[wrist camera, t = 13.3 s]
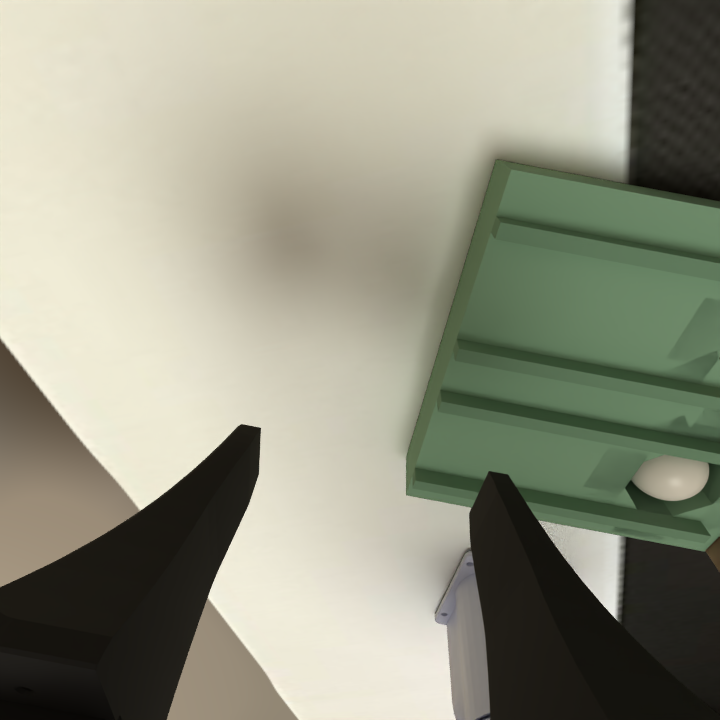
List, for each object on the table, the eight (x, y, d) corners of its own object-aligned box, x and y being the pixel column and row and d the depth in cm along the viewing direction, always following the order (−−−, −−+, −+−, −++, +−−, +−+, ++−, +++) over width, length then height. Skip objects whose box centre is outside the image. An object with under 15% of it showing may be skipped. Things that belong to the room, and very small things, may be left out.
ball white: (657, 466, 25) (708, 514, 22) (601, 468, 24) (645, 518, 21) (682, 416, 23) (742, 460, 20) (622, 417, 23) (674, 463, 20)
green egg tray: (680, 508, 26) (719, 567, 23) (406, 457, 26) (405, 508, 23) (914, 238, 17) (1035, 270, 14) (496, 159, 17) (516, 173, 14)
